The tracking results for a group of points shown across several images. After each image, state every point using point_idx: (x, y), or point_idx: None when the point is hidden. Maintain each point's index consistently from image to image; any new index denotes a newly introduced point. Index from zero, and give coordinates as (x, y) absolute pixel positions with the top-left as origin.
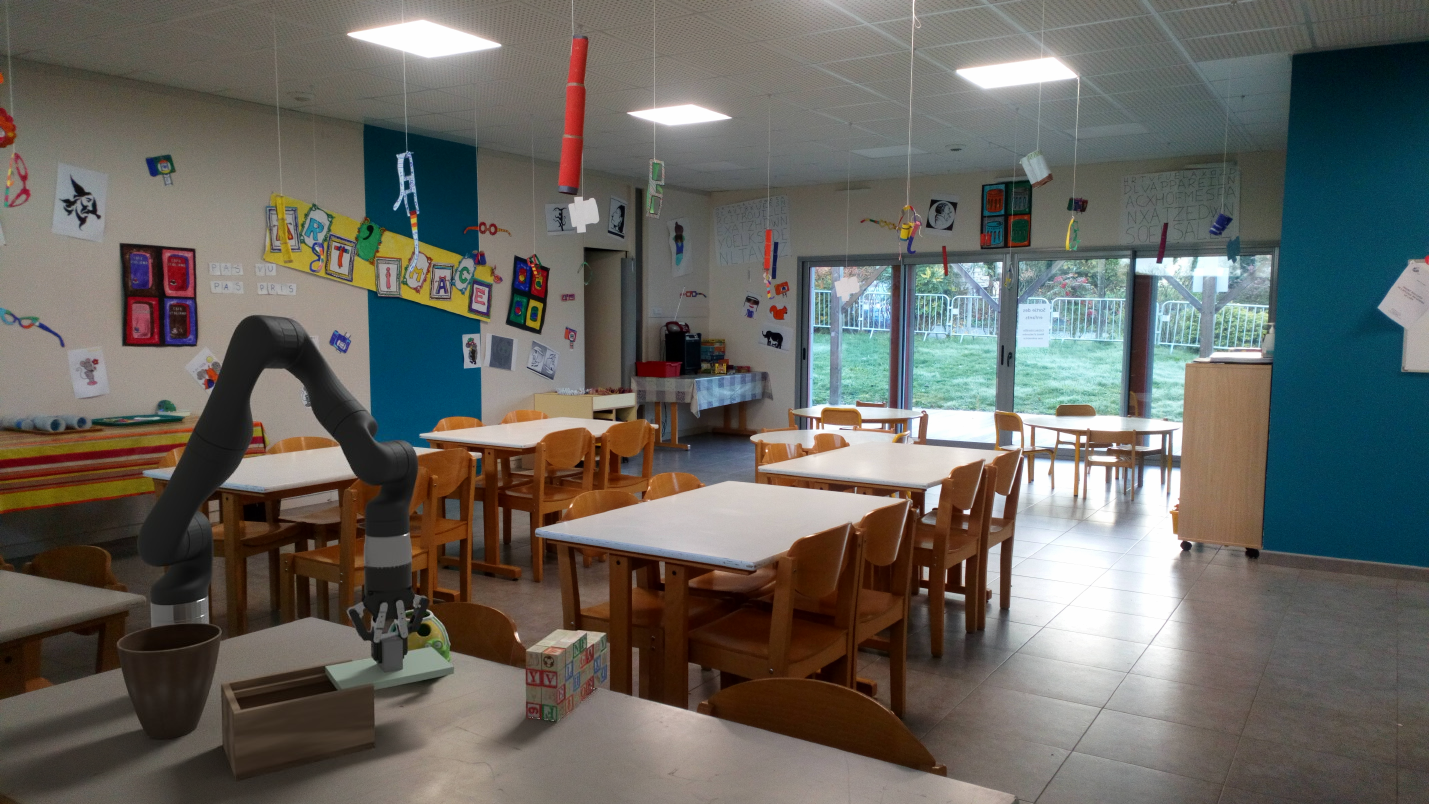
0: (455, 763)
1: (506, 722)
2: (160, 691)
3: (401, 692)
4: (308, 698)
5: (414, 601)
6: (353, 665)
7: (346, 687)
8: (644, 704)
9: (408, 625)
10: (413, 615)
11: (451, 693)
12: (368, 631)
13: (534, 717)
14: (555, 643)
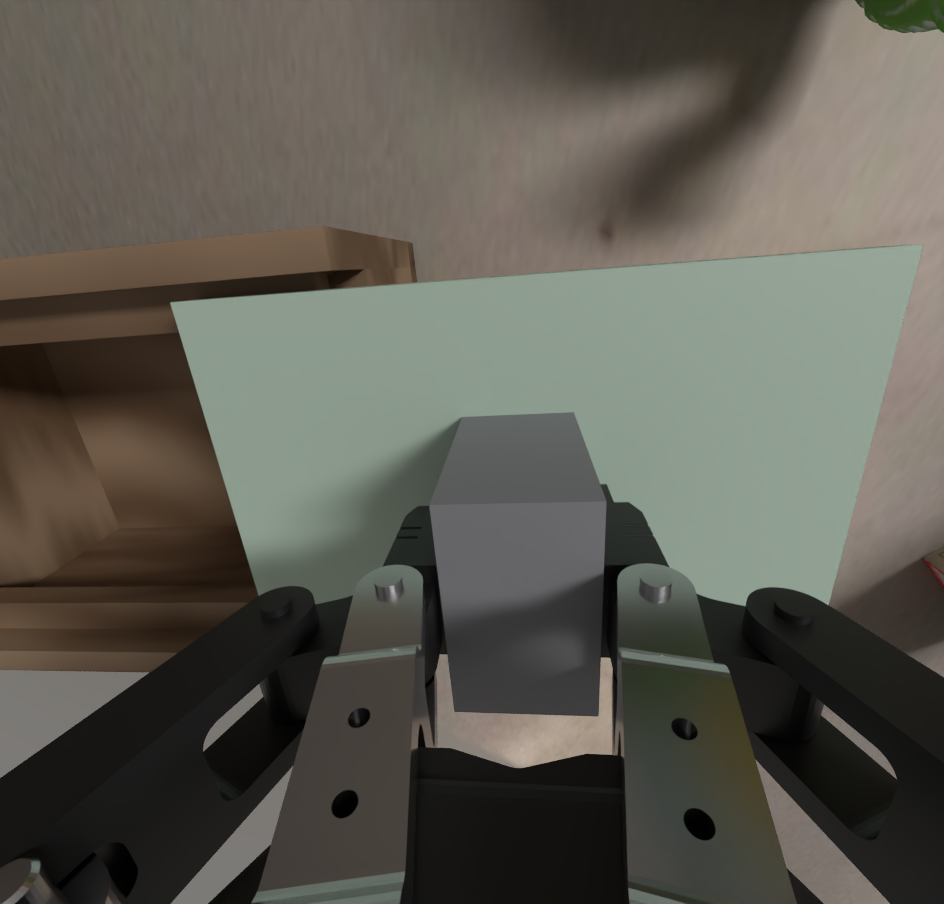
0: (601, 693)
1: (846, 560)
2: None
3: (661, 40)
4: (155, 668)
5: None
6: (332, 377)
7: None
8: None
9: (737, 687)
10: (892, 753)
11: (848, 188)
12: (322, 660)
13: (940, 580)
14: None
